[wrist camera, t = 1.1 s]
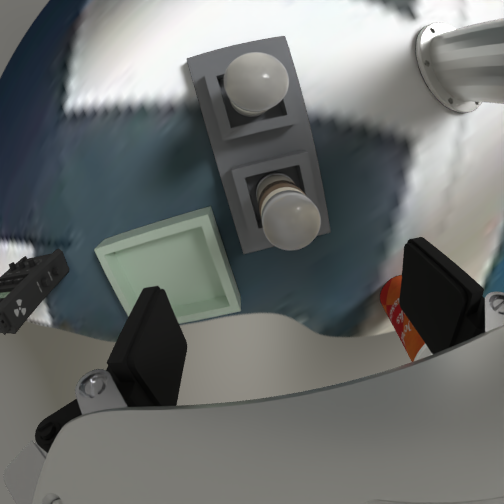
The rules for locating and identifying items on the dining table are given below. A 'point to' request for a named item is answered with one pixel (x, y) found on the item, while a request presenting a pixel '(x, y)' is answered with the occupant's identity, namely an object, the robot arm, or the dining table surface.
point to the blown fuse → (286, 212)
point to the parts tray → (174, 265)
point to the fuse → (255, 83)
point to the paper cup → (402, 320)
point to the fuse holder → (257, 139)
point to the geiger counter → (28, 287)
